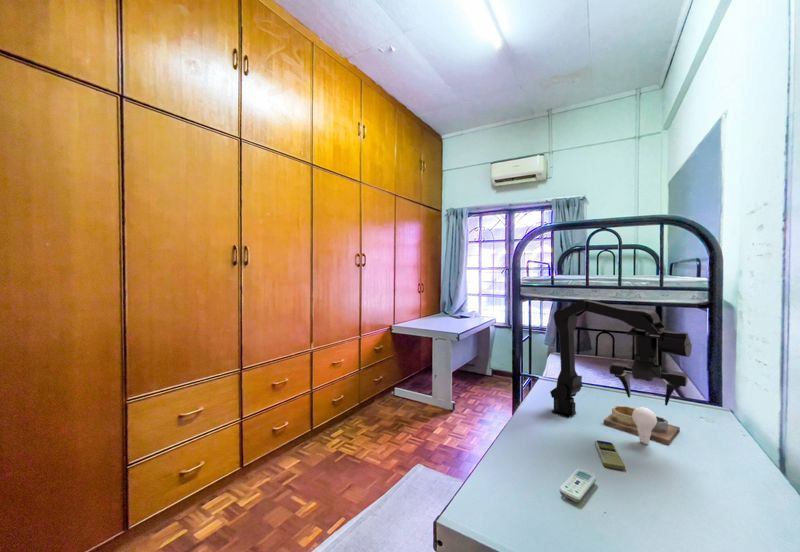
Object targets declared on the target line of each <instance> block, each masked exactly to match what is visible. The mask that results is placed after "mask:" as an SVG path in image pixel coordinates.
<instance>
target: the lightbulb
mask: <svg viewBox="0 0 800 552" xmlns="http://www.w3.org/2000/svg"><path fill="white" fill-rule="evenodd" d="M656 416H657V415H656V414H655V413H654V412H653V410H651V409H649V408H647V407H641V406H640V407H637V408H635V410H634V411H633V413H632V418H633V421H634V422H635V424H636V426H637V429H638V434H639V435H638V437H639V438H638V439H639V442H641V443H642V444H644V445H647V444H649V443H650V442H651V439H650V436H651V431H652V429H653V428H654V427H655V425H656V423H657V418H656Z"/></svg>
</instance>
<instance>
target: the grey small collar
mask: <svg viewBox="0 0 800 552" xmlns="http://www.w3.org/2000/svg"><path fill="white" fill-rule="evenodd" d="M655 416H656V418H657V423H656V425H655V427H654V428H653V429H652V430H654V431H657V432H667V431H668V424H669V421H668V420H667V419H666V418H664V417H661V416H657V415H655Z"/></svg>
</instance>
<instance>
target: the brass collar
mask: <svg viewBox="0 0 800 552" xmlns="http://www.w3.org/2000/svg"><path fill="white" fill-rule="evenodd" d="M635 409H636V408H634V407H630V406H627V405H626V406H625V405H615V406H614V407H612V408H611V414H612V417H613V418H614V419H615V420H616V421H617V422H620V423H623V424H627V425H630V426H636V424H635V422H634V421H633V418H632V413H633V411H634V410H635Z"/></svg>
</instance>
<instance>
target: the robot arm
mask: <svg viewBox="0 0 800 552" xmlns="http://www.w3.org/2000/svg"><path fill="white" fill-rule="evenodd" d="M586 312H589V313H593V314H597V315H600V316H604V317H608V318H612V319H615V320H618V321H621V322H622V323H625V324H626V325H628V326H630V327H632V328H631V329H630V330H628V331H627V332H626V335H627V336H634V359H633V362H632V366H631V367H630V366H628V363H622V362H618V361H617V362H616V361H614V362H613V363H612V364H611V365H609V374H611V375H614V378H617V379H619V380H620V382H621V384H622V385H623V388H624V390H625V393H626V396H627V398H631V394H632V393H631V381H630V374H631V375H632V378H633V379H635V380H643V381H646V382H652V381H653V380H654V378H655V379H660V380H661V379H662V380H667V383H666V391H665V396H664V397H665V399H664V405H665V406H668V404H669V401H670V399H671V397H672V394H673V393H674V392H675V391H674V390H675V389H680V388H681V387H687V385H688V381H689V380H688V379H689V378H688V374H687V373H686V372H681V371H676V370H669V372H668V373H667V372H662V366H661V365H659V351H660V352H662V354H666V355H672V356H679V357H684V358H685V357H686V358H690V356H691V355H692V347H693V346H692V345H693V343H692V342H691V339H690V337H689V332H676V331H669V329H668V328H667V327H666V326H665V325H664V323H663V322H662V321H661V319H660V315H659V314H658V313H657V312H656V311H654V310H652V309H643V308H641V309H640V308H627V307H621V306H617V305H612V304H607V303H604V302H600V301H595V300H591V299H589V298H583V299H579V300H578V301H576V302H574V303H572V304H570V305H568V306H565V307H564V308H560V309H559V308H558V309H557V310H555V311H554V313H553V320H554V325H555V327H556V329H557V331H558V333H559V336H558V337H559V356H560V371H559V374H558V377H557V380H556V381H557V382H556V386H555V388H553V389H552V390H550V391H549V393H550V397H551V398H552V399H553V409H552V410H551V413H553V414H556V415H559V416H562V417H564V418H571V417H572V416H574V415H576V414H577V411H576V402H575V398H574V397H576V395H577V393H579V392H580V391H581V389H582V387H583V383H582V379H583V376H582V375H578V373H577V371H576V363H575V362H576V361H575V359H576V358H575V339H574V338H575V337H574V334H575V333H574V332H575V329H576V327H577V324H578V318H579V317H581V316H582V315H584V314H585V313H586Z"/></svg>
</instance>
